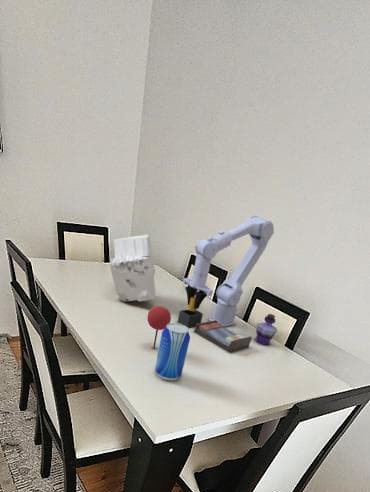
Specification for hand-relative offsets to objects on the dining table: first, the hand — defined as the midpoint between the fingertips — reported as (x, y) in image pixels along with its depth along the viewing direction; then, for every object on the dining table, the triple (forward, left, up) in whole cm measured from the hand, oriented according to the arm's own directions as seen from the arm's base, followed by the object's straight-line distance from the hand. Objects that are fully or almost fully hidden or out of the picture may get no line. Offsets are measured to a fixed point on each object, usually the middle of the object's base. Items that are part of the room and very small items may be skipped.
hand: (192, 306), depth 155 cm
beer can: (+38, +28, -8) cm, 48 cm away
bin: (0, 0, -7) cm, 7 cm away
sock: (0, 0, -1) cm, 1 cm away
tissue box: (+8, -30, -8) cm, 32 cm away
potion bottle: (-19, +25, -8) cm, 32 cm away
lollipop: (+30, +12, -8) cm, 33 cm away
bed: (-2, +16, -7) cm, 18 cm away
